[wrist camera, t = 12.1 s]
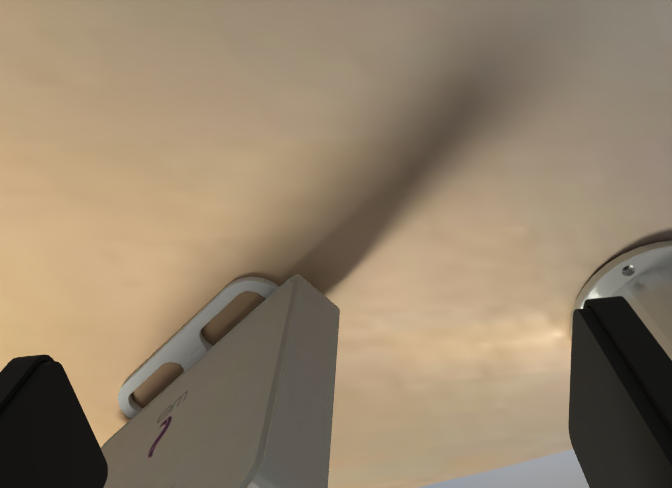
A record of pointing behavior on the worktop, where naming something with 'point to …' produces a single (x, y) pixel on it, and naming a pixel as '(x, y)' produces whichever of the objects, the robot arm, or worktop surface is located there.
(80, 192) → the worktop surface
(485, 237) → the worktop surface
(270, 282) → the network device
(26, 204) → the worktop surface
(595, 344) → the robot arm
